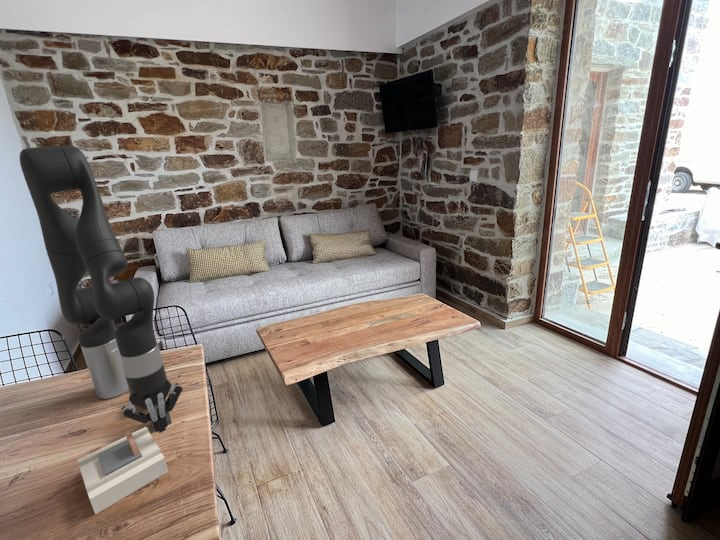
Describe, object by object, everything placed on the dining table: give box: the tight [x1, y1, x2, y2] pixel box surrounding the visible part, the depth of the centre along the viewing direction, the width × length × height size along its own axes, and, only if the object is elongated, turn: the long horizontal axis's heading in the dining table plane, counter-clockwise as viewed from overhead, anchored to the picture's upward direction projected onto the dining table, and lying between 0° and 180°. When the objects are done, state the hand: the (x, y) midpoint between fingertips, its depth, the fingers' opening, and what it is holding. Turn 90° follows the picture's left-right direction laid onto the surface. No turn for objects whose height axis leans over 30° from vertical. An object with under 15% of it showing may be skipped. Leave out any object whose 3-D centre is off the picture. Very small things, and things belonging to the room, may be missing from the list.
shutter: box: [98, 430, 142, 476], centre depth 82 cm, size 7×7×4 cm
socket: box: [77, 426, 169, 515], centre depth 83 cm, size 14×14×5 cm
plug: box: [149, 398, 173, 426], centre depth 97 cm, size 4×4×10 cm
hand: (161, 430), depth 87 cm, fingers closed
